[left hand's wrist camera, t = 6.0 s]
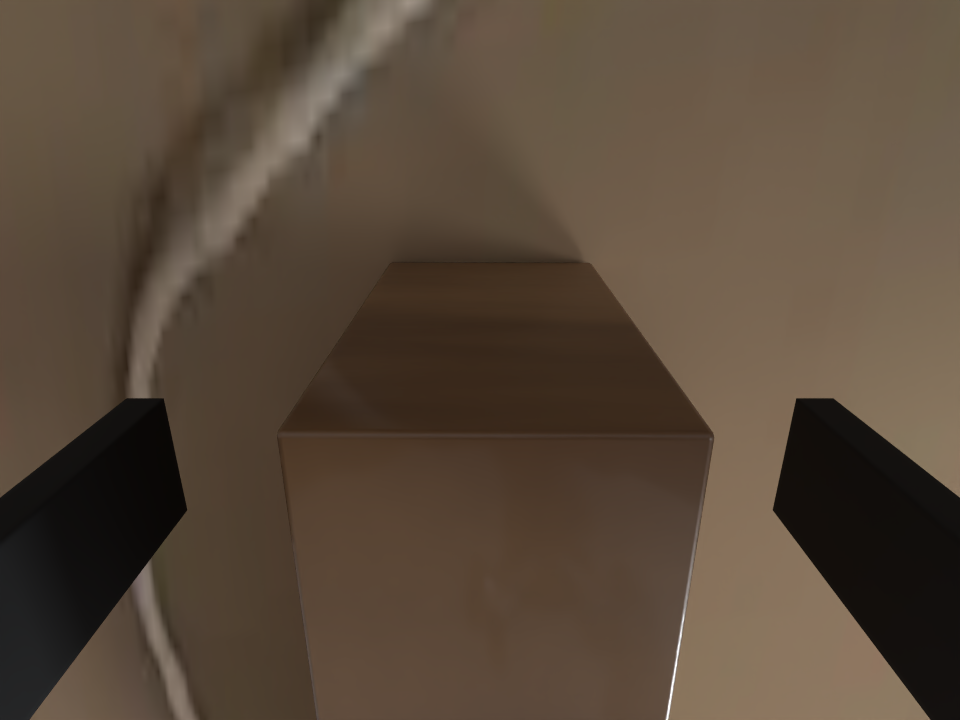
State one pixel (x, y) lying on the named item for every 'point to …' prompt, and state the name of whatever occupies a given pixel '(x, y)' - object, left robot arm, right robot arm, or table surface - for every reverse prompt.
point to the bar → (493, 502)
